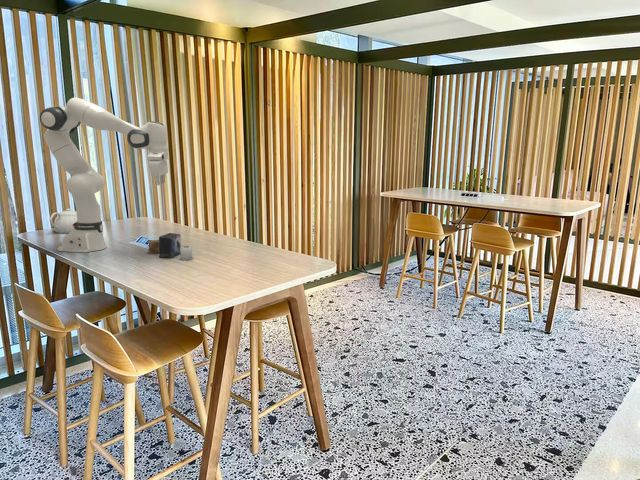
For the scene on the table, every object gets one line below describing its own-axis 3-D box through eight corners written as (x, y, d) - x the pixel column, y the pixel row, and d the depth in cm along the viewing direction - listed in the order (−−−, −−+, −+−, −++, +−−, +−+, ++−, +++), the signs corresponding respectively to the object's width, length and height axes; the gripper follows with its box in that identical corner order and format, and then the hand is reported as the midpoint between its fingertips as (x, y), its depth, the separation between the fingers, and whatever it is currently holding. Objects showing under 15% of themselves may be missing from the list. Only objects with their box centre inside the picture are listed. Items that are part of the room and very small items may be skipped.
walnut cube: (148, 254, 230) (148, 242, 229) (148, 251, 236) (148, 239, 234) (161, 253, 232) (161, 241, 231) (161, 250, 238) (160, 239, 237)
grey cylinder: (179, 260, 221) (179, 247, 220) (181, 257, 226) (181, 245, 225) (191, 260, 222) (190, 248, 220) (193, 257, 227) (193, 245, 226)
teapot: (53, 229, 281) (51, 207, 278) (87, 227, 289) (85, 206, 286) (50, 235, 265) (48, 211, 262) (86, 233, 272) (84, 210, 270)
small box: (171, 258, 223) (170, 237, 221) (158, 257, 225) (157, 236, 222) (181, 253, 233) (181, 233, 231) (170, 252, 235) (169, 232, 232)
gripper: (157, 154, 233) (159, 182, 236) (146, 156, 213) (148, 186, 216) (170, 154, 233) (171, 182, 236) (160, 156, 214) (162, 186, 217)
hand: (160, 184), depth 226 cm, fingers open, 8 cm apart
